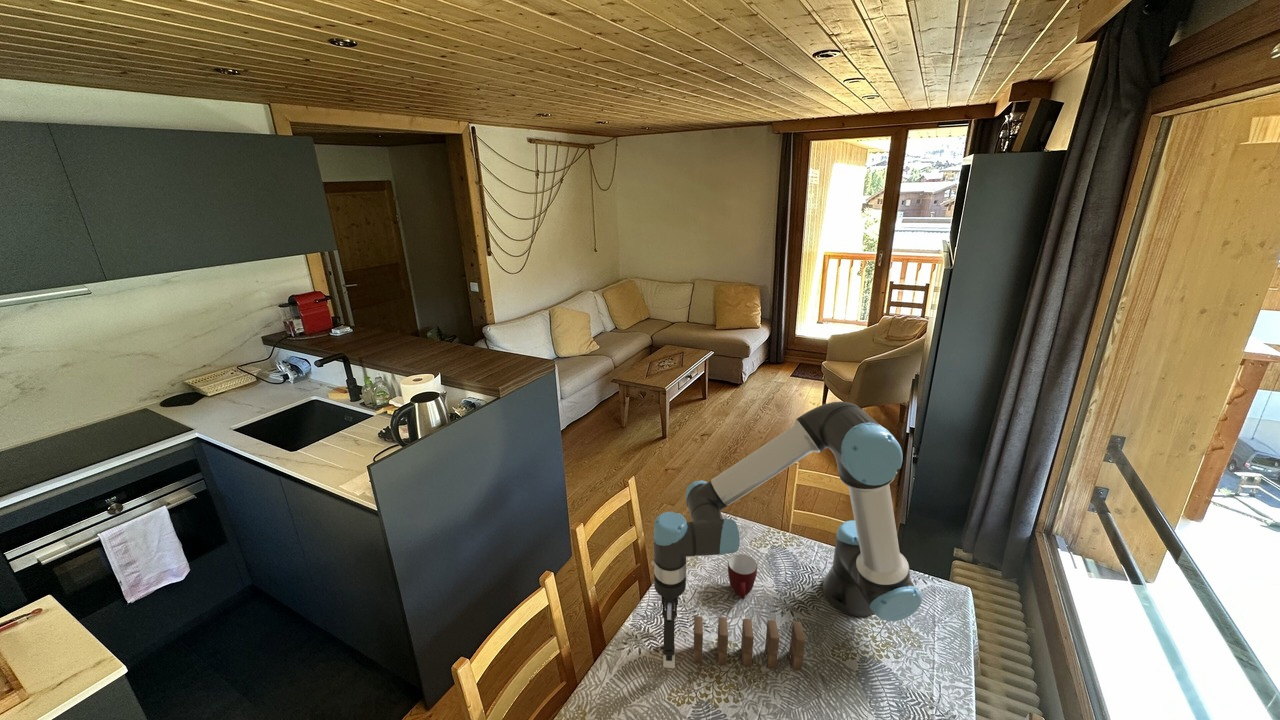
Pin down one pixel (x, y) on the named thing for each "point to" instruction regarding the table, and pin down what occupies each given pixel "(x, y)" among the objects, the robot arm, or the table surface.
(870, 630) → the table surface
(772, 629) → the domino
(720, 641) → the domino
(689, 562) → the table surface
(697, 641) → the domino
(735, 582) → the mug
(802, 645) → the domino
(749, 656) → the domino
